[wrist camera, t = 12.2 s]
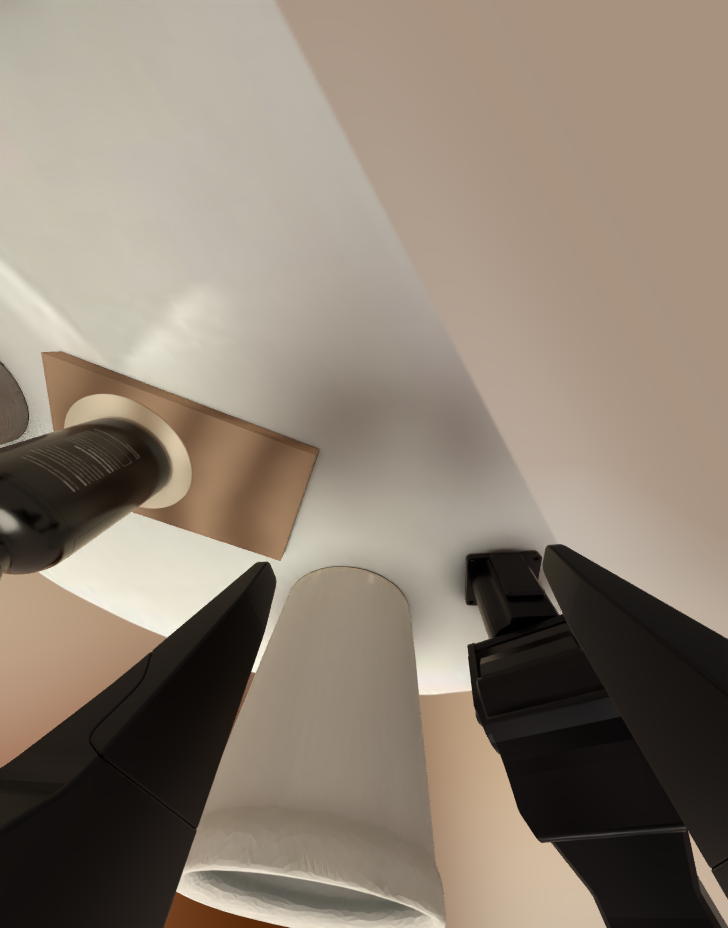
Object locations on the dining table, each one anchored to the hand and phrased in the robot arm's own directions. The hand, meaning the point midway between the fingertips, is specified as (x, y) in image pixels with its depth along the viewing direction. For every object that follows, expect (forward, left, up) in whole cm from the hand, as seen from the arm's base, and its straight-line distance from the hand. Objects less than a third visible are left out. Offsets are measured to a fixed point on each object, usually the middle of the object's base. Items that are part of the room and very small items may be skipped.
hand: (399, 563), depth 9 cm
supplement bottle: (+1, +21, -12) cm, 24 cm away
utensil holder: (-20, +7, -13) cm, 25 cm away
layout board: (-1, +18, -13) cm, 22 cm away
